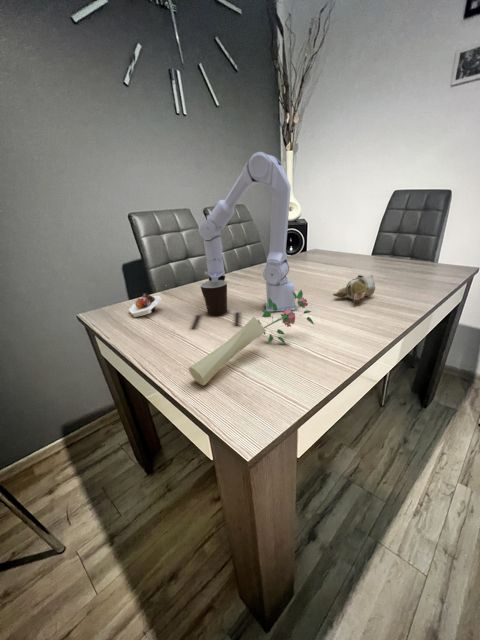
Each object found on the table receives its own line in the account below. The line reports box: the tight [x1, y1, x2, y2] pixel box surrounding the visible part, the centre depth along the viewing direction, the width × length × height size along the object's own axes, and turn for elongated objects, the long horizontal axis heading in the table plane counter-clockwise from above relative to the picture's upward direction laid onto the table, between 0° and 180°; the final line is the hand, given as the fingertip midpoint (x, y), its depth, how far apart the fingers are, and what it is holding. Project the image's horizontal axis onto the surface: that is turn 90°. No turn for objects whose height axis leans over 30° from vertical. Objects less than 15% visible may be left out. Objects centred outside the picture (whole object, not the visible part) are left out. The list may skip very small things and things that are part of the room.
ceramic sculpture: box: [332, 274, 376, 303], centre depth 96 cm, size 11×9×15 cm
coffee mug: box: [199, 280, 228, 317], centre depth 92 cm, size 12×9×10 cm
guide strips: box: [191, 312, 240, 330], centre depth 87 cm, size 14×10×1 cm
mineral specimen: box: [128, 292, 163, 318], centre depth 95 cm, size 12×12×7 cm
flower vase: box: [188, 289, 315, 386], centre depth 66 cm, size 12×12×35 cm
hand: (219, 296), depth 101 cm, fingers closed
